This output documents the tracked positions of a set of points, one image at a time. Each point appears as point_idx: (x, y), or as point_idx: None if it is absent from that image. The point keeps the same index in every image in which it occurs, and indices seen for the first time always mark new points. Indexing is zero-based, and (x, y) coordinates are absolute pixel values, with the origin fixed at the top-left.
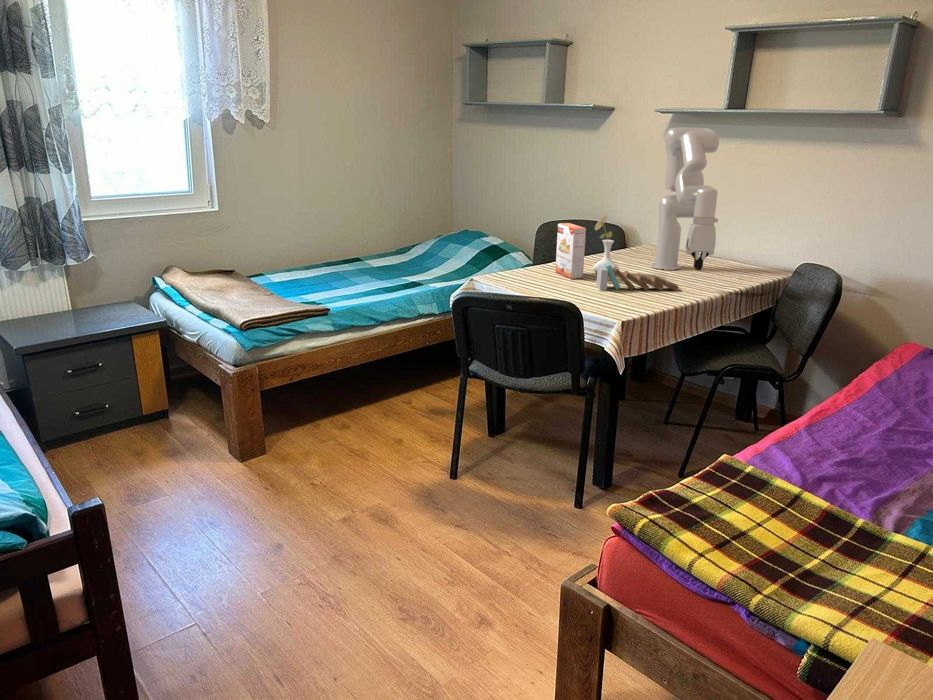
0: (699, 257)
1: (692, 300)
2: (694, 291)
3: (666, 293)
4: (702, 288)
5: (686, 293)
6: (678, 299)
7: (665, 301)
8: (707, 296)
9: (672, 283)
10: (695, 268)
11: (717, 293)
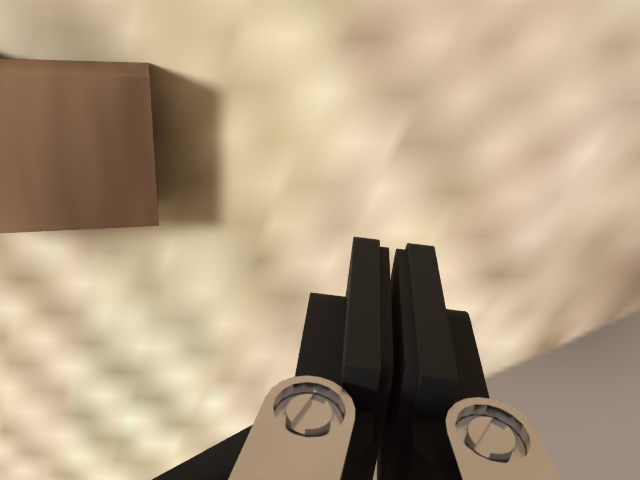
0: (411, 466)
1: None
2: (341, 224)
3: (39, 277)
4: (511, 93)
5: (228, 290)
6: (109, 438)
7: (8, 468)
8: None
9: (87, 153)
10: (347, 290)
11: (542, 310)
